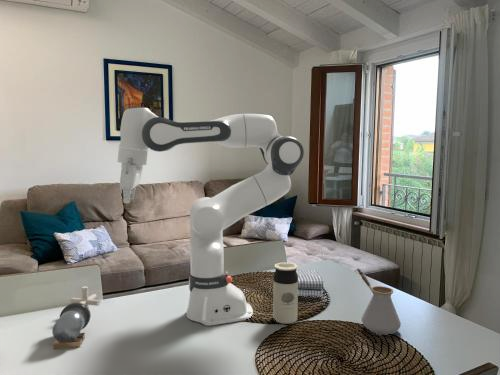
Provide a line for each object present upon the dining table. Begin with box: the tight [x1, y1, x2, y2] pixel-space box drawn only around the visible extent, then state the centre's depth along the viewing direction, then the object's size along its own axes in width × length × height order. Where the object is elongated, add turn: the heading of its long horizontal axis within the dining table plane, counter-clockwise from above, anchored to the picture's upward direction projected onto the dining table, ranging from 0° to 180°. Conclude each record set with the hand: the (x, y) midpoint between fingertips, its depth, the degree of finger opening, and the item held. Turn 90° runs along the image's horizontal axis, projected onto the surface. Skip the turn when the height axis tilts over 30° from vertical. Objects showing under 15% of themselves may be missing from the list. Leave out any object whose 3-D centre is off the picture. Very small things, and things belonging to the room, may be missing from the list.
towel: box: [296, 269, 324, 298], centre depth 153 cm, size 15×18×8 cm
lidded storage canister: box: [51, 302, 92, 350], centre depth 112 cm, size 10×8×9 cm
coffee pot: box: [354, 268, 402, 336], centre depth 124 cm, size 21×12×15 cm, turn 13°
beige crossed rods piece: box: [69, 285, 101, 310], centre depth 128 cm, size 10×10×10 cm
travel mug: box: [272, 262, 299, 325], centre depth 126 cm, size 8×8×18 cm
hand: (128, 201), depth 124 cm, fingers open, 8 cm apart
